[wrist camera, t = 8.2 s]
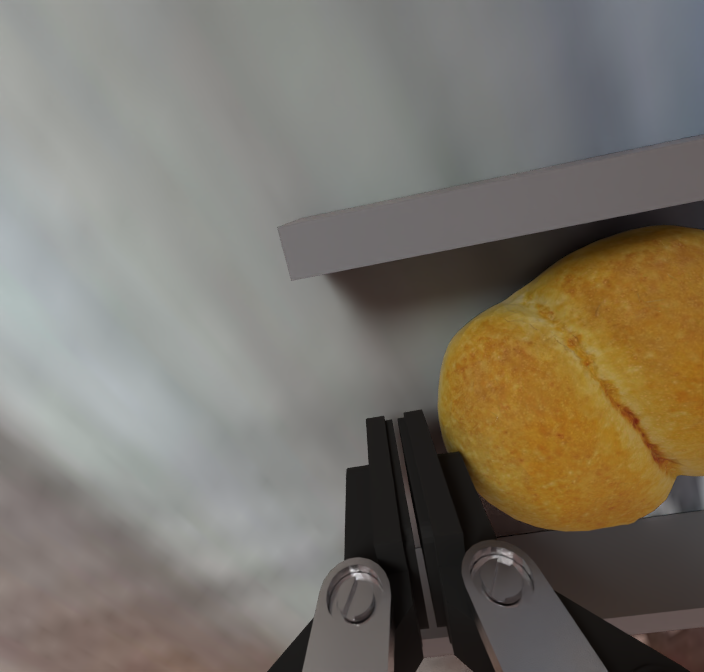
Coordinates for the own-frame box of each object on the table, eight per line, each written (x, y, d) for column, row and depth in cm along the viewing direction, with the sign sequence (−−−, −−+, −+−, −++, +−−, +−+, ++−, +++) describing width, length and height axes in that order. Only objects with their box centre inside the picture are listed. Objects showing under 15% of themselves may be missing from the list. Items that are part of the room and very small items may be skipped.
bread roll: (382, 368, 11) (397, 454, 7) (656, 170, 9) (879, 148, 5) (513, 514, 13) (575, 636, 10) (755, 385, 11) (956, 478, 7)
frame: (300, 218, 9) (277, 227, 6) (882, 97, 8) (1168, 41, 5) (384, 569, 14) (392, 661, 11) (745, 523, 13) (851, 610, 10)
